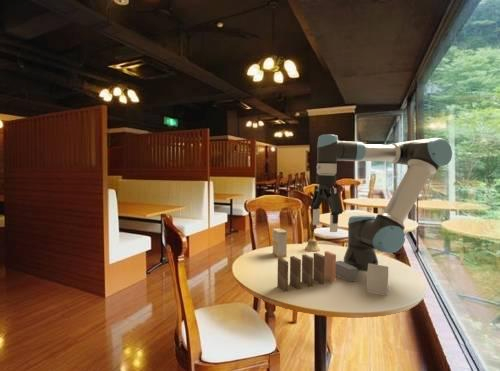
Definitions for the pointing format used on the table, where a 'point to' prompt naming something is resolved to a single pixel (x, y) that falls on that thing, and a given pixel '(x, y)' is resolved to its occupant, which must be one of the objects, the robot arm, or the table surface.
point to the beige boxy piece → (377, 279)
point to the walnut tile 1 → (282, 274)
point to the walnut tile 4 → (318, 268)
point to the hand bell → (312, 240)
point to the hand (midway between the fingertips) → (324, 228)
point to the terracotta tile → (330, 266)
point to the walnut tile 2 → (295, 272)
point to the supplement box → (280, 242)
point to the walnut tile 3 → (307, 270)
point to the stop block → (346, 271)
